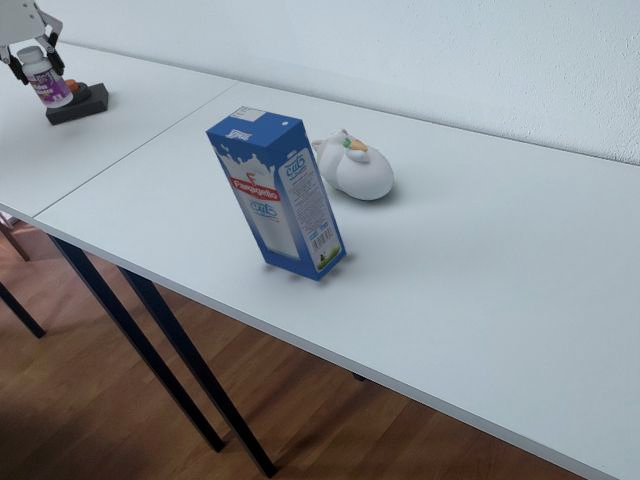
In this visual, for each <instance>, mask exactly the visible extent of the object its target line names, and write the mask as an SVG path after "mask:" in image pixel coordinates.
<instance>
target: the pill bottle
mask: <svg viewBox="0 0 640 480" xmlns="http://www.w3.org/2000/svg"><path fill="white" fill-rule="evenodd" d="M16 57H17V58H18V60H19V61H20V63H21V64H22V71H23V73H24V75H25V76H26V78H27V79H28V81H29V84H30V86H31V87H32V89H33V90H34V92H35V93H36V95H37V97H38V98H39V99H40V101H41V103H42V104H43V106H44V107H46V108H47V107H48V108H57V107H60V106H63V105H66V104H67V103H69V102H70V101H71V100H72V99H73V95H72V93H71V91H70V89H69V88H68V86H67V84H66V83H65V79H64V78H63V75H62V76H60V75H58V74H57V72H56V71H55V69H54V67H53V66H52V64H51V63H50V61H49V59H48V58H47V56H45V52H44V51H43V50H42V48H41V47H40V46H39V45H29V46H26V47H23V48H21V49H19V50H18V51H17V52H16Z"/></svg>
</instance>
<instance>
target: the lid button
mask: <svg viewBox="0 0 640 480" xmlns="http://www.w3.org/2000/svg"><path fill="white" fill-rule="evenodd" d="M64 81H65V83H66V84H67V86H68V88H69V89H70V91H71V93H73V92H76V91H77V90H79V89H80V88H79V86H78V85H77V83H76V82H77V81H76V80H75V79H73V78H69V79H64Z"/></svg>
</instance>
